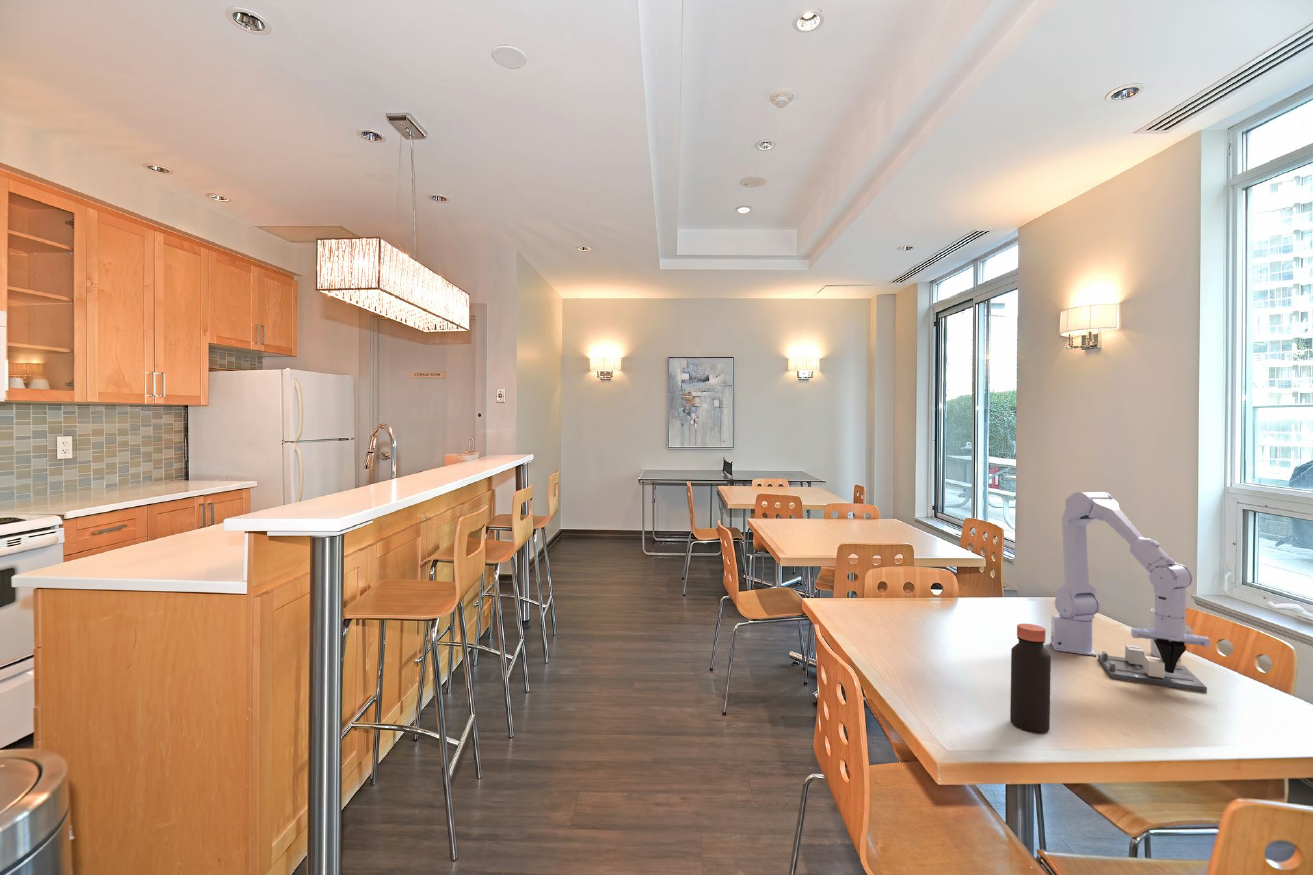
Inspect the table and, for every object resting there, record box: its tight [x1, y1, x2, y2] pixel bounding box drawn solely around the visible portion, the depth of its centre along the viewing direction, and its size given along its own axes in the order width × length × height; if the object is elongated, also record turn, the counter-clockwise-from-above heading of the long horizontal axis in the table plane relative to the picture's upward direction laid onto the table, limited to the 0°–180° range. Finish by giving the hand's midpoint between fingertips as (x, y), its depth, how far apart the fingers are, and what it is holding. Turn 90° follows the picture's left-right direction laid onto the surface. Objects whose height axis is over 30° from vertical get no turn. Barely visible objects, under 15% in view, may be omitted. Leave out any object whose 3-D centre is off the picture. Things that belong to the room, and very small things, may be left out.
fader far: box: [1124, 644, 1145, 665], centre depth 157 cm, size 3×4×4 cm
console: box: [1097, 650, 1208, 694], centre depth 152 cm, size 18×15×3 cm
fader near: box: [1144, 655, 1165, 678], centre depth 149 cm, size 3×4×4 cm
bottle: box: [1009, 623, 1052, 734], centre depth 124 cm, size 7×7×20 cm
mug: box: [1149, 607, 1182, 661], centre depth 167 cm, size 10×7×12 cm, turn 154°
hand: (1168, 671), depth 147 cm, fingers closed
